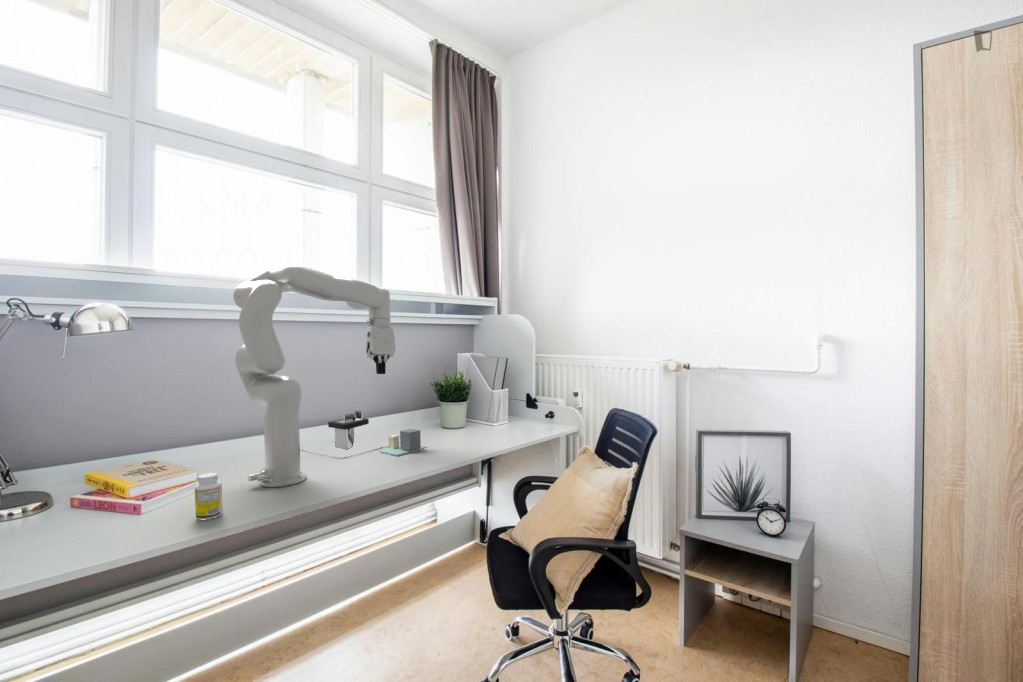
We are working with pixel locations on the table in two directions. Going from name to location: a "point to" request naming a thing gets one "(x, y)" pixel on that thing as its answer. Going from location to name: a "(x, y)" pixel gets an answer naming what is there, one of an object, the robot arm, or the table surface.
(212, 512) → the supplement bottle
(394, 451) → the board
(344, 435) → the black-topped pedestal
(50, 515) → the table surface
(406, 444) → the grey block
